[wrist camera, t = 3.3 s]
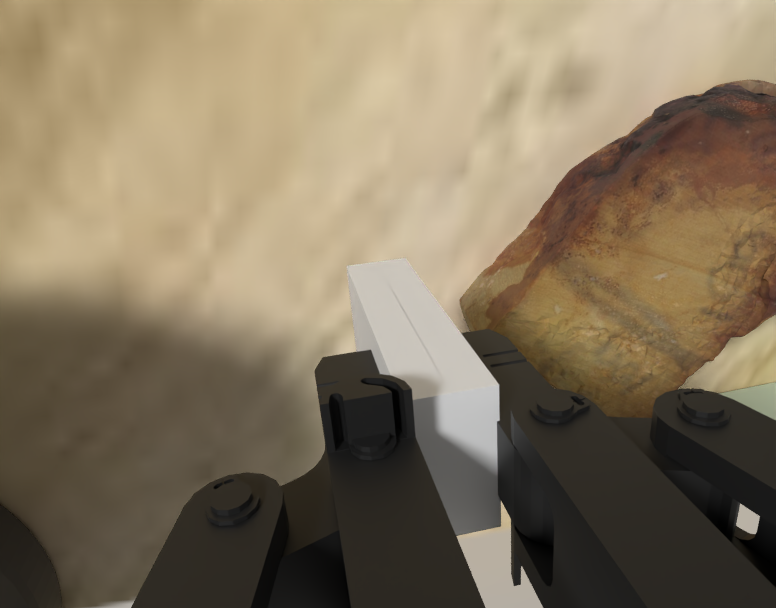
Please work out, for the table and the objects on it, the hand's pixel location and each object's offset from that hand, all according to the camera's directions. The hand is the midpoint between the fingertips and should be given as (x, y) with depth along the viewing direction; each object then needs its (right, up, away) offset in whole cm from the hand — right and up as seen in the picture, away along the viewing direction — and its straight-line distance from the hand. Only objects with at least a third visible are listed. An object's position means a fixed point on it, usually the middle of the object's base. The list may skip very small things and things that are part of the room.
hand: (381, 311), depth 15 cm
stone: (+10, +3, +9) cm, 14 cm away
